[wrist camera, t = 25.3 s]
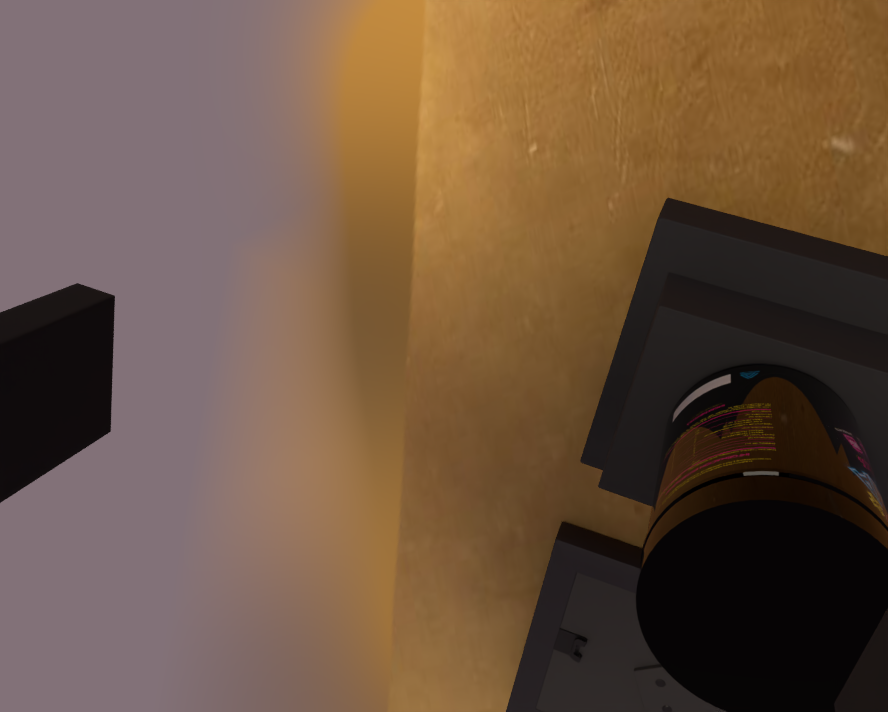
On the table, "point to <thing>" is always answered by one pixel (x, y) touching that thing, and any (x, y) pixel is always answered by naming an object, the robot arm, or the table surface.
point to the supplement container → (763, 543)
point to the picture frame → (593, 637)
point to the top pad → (735, 343)
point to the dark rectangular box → (738, 287)
